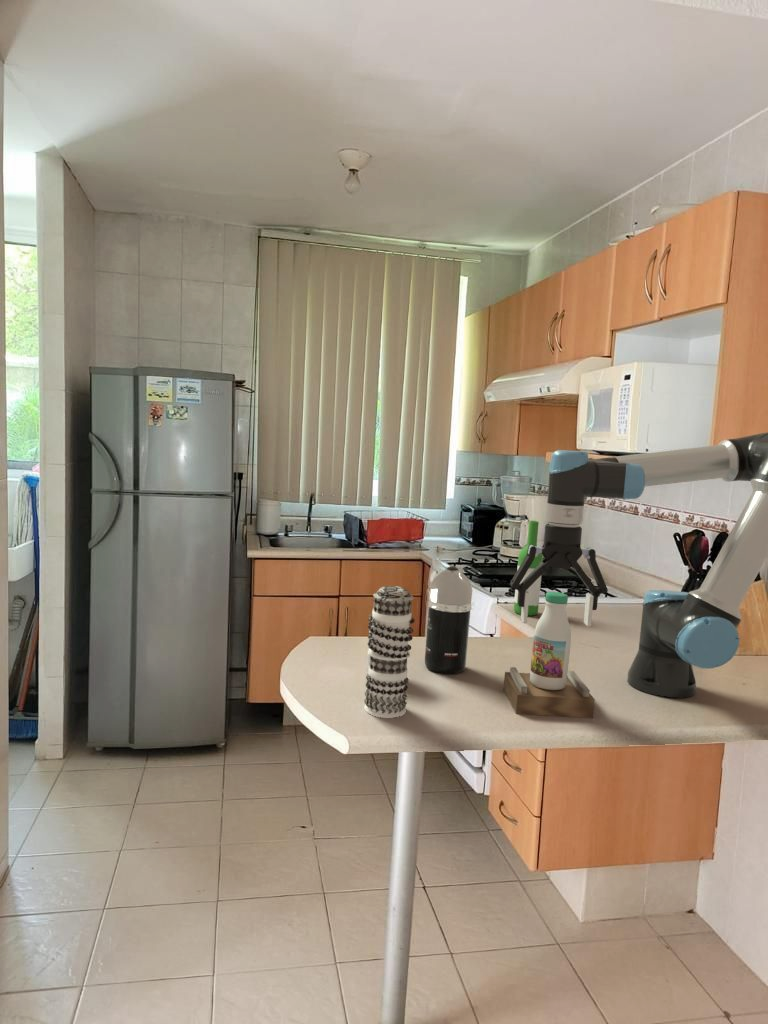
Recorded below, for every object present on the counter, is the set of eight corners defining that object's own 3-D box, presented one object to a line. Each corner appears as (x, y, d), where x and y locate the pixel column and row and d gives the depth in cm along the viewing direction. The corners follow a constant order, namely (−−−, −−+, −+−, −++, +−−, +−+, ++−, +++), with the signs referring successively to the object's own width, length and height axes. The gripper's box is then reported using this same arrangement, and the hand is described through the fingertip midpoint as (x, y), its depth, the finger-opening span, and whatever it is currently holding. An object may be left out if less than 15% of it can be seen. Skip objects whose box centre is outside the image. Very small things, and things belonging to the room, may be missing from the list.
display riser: (573, 693, 164) (576, 669, 164) (592, 717, 150) (595, 692, 150) (503, 689, 164) (505, 665, 163) (515, 713, 150) (518, 687, 149)
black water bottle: (428, 675, 170) (436, 569, 167) (419, 660, 180) (427, 561, 177) (471, 675, 171) (480, 571, 168) (459, 661, 181) (468, 562, 178)
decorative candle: (379, 697, 154) (387, 581, 151) (416, 709, 148) (425, 589, 146) (353, 709, 146) (361, 587, 143) (391, 722, 141) (400, 596, 138)
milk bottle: (539, 676, 162) (548, 588, 160) (572, 685, 157) (581, 595, 155) (522, 683, 156) (531, 592, 154) (555, 694, 151) (565, 599, 149)
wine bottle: (509, 610, 238) (517, 519, 234) (531, 610, 240) (540, 519, 236) (519, 616, 230) (527, 522, 227) (541, 616, 232) (550, 523, 229)
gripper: (507, 523, 149) (500, 625, 151) (629, 529, 149) (619, 630, 152) (501, 519, 156) (494, 615, 159) (616, 524, 157) (607, 621, 159)
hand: (555, 623), depth 155 cm, fingers open, 13 cm apart
